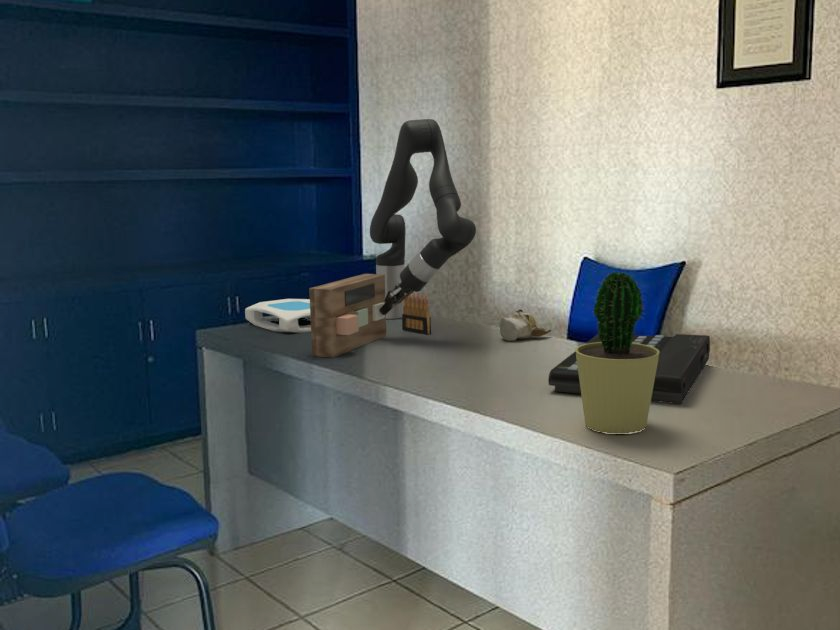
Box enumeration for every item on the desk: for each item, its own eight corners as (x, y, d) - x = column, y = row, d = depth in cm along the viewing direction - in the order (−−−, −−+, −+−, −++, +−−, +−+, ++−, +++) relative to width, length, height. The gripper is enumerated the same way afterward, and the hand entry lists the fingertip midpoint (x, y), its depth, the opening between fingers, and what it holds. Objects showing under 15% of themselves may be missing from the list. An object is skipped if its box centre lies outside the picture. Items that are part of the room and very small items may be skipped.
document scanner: (287, 335, 256) (286, 315, 255) (244, 323, 277) (243, 303, 276) (347, 326, 268) (346, 306, 267) (301, 314, 290) (300, 296, 289)
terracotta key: (330, 333, 227) (329, 317, 226) (340, 329, 232) (340, 313, 231) (348, 335, 224) (347, 318, 224) (358, 331, 229) (358, 315, 228)
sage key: (341, 326, 237) (340, 310, 236) (351, 322, 242) (350, 307, 241) (358, 327, 234) (358, 311, 234) (368, 323, 239) (367, 308, 238)
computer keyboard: (598, 352, 227) (599, 327, 226) (709, 360, 215) (710, 334, 214) (548, 395, 187) (548, 365, 186) (680, 408, 175) (681, 376, 174)
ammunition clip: (431, 334, 253) (430, 293, 251) (427, 335, 252) (426, 294, 249) (406, 329, 260) (405, 290, 258) (401, 330, 259) (400, 291, 257)
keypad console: (312, 355, 228) (309, 288, 224) (366, 334, 254) (364, 273, 251) (334, 357, 225) (331, 289, 222) (387, 335, 251) (385, 274, 248)
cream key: (359, 319, 246) (358, 304, 245) (368, 316, 250) (367, 301, 250) (376, 321, 243) (375, 305, 243) (384, 317, 248) (384, 302, 247)
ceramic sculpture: (489, 308, 242) (527, 305, 251) (488, 338, 244) (526, 334, 253) (515, 313, 234) (554, 310, 243) (514, 345, 235) (552, 340, 244)
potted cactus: (557, 427, 163) (559, 270, 158) (603, 409, 174) (606, 262, 169) (628, 444, 153) (632, 277, 147) (672, 425, 163) (677, 267, 158)
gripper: (421, 258, 244) (384, 299, 252) (400, 264, 233) (362, 306, 240) (438, 277, 243) (401, 318, 251) (418, 284, 231) (379, 326, 239)
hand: (382, 312), depth 245 cm, fingers closed
